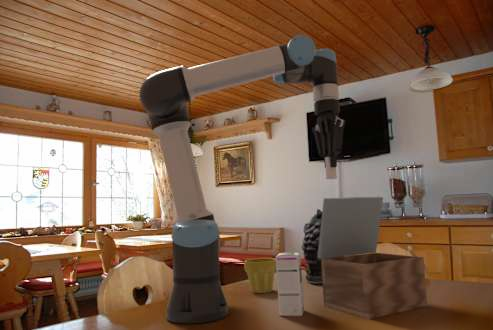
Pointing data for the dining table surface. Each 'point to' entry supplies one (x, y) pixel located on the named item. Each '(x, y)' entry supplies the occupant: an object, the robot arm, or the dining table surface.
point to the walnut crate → (374, 284)
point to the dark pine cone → (313, 249)
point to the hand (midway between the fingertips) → (331, 178)
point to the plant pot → (260, 274)
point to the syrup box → (289, 284)
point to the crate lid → (349, 226)
